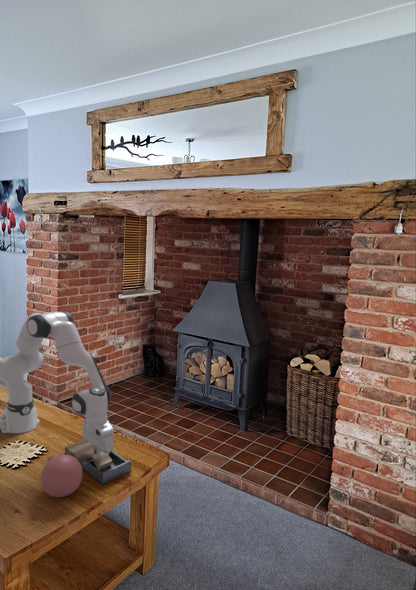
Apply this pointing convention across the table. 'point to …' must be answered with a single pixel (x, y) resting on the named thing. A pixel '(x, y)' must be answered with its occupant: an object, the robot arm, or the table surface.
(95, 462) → the block
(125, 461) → the box
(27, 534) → the table surface
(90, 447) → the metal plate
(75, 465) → the balloon
